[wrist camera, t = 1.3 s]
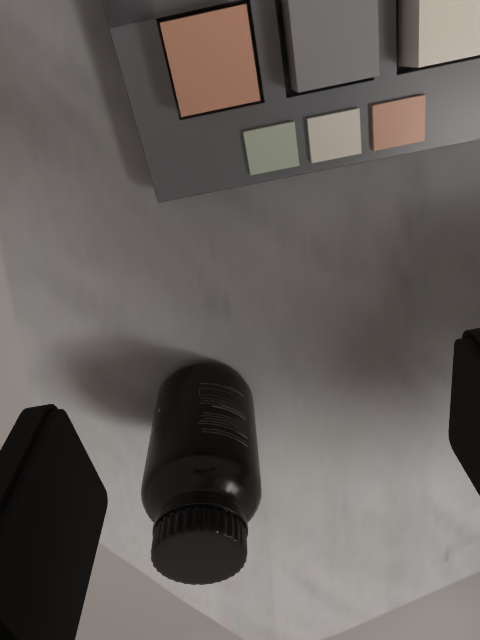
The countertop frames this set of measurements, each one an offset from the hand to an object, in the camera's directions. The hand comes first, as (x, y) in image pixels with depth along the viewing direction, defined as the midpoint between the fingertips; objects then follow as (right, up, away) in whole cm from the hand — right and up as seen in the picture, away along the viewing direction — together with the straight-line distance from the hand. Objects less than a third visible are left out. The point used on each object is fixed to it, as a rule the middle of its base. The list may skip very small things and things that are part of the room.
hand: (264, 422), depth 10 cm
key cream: (+8, +16, +10) cm, 20 cm away
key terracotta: (-2, +14, +11) cm, 18 cm away
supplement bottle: (-3, -3, +23) cm, 24 cm away
